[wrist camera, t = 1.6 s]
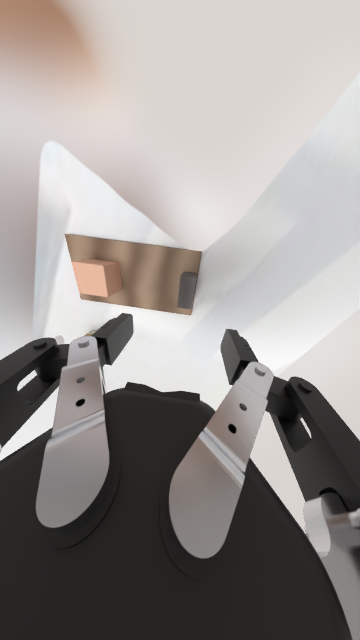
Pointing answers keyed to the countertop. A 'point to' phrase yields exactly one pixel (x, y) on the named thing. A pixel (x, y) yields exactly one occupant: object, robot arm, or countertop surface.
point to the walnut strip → (143, 273)
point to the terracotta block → (97, 277)
